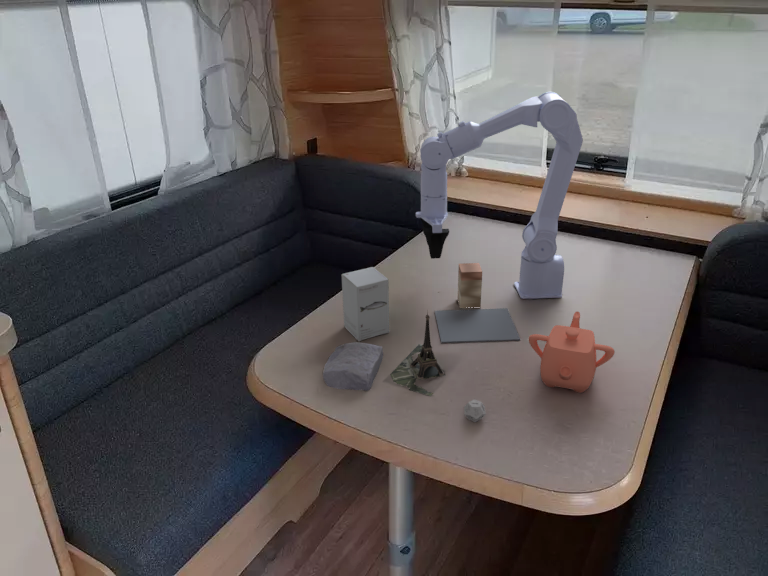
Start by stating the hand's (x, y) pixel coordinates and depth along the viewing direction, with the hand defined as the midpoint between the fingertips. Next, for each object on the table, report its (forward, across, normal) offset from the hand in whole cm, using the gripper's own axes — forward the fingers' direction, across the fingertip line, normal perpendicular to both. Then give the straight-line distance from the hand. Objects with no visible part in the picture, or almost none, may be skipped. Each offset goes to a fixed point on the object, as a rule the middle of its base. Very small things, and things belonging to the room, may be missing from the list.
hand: (433, 250), depth 143 cm
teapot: (+10, +37, +20) cm, 44 cm away
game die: (+10, +47, +2) cm, 48 cm away
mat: (+10, +17, +7) cm, 21 cm away
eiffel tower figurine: (+11, +32, -5) cm, 34 cm away
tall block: (+10, +7, +7) cm, 14 cm away
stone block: (+10, +32, -19) cm, 39 cm away
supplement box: (+10, +17, -16) cm, 25 cm away
